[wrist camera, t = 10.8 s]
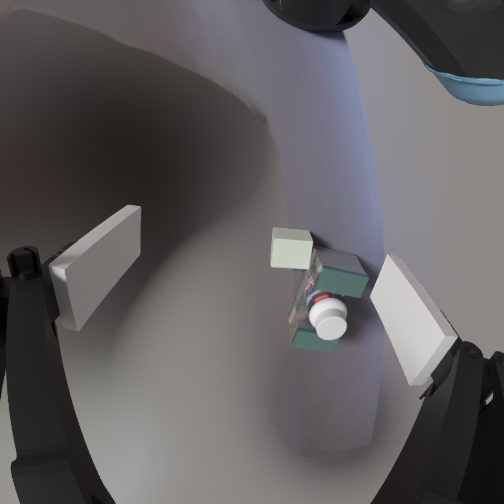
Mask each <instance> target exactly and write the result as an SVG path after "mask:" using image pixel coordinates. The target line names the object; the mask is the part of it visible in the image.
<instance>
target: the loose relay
mask: <svg viewBox="0 0 504 504" xmlns="http://www.w3.org/2000/svg"><path fill="white" fill-rule="evenodd" d="M312 246H313V240H312V237H311V235H310V232H309V230H297V229H287V228H273V234H272V245H271V267H283V268H296V269H309V264H310V258H311V252H312Z"/></svg>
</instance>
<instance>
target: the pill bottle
mask: <svg viewBox="0 0 504 504" xmlns="http://www.w3.org/2000/svg"><path fill="white" fill-rule="evenodd" d="M305 299H306V304H307V310H308V315H309V320H310V322H311V324H312V325H313V326H314V327H315V328H316V332H317V334H318V336H319V337H320V338H322V339H324V340H334V339H337V338H339V337H341V336H342V335H343V334H344V333H345V331H346V329H347V323H346V320H345V319H346V317H347V308H346V305H345V302H344V300H343V297H342V295H341V294H336V293H330V292H325V291H320V290H315V288H314V283H313V280H312V281H311V282H310V283H309V284H308V285H307V287H306V289H305Z"/></svg>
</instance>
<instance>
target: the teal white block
mask: <svg viewBox="0 0 504 504" xmlns="http://www.w3.org/2000/svg"><path fill="white" fill-rule="evenodd" d="M312 280H313V283H314V288H315V290H320V291H325V292H330V293H336V294H341V295H342V297H343V296H344V295H346V296H351V297H357V298H361V296H362V293H363V291H364V289H365V287H366V285H367V282H368V280H369V277H368V275H367V274H366V273H365V271H364V269H363V268H362V266H361V265H360V263H359V259H358V257H357V256H356V255H355V254H350V253H346V252H342V251H338V250H334V249H330V248H326V247H321V246H317V245H313V246H312V252H311V258H310V264H309V269H304V270H303V273H302V276H301V279H300V282H299V285H298V287H297V290H296V293H295V296H294V299H293V302H292V304H291V307H290V310H289V312H288V315H287V320H288V322H289V323H290V331H291V346H292V347H298V348H304V349H312V350H319V351H327V352H333V351H334V349H335V347H336V345H337V343H338V342H339V340H340V338H341V337H339V338H337V339H334V340H324V339H322V338H320V337H319V336H318V334H317V332H316V328H315V327H314V326H313V325H312V324H311V322H310V320H309V315H308V310H307V304H306V299H305V289H306V287H307V285H308V284H309V283H310V282H311V281H312Z"/></svg>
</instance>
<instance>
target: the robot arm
mask: <svg viewBox="0 0 504 504" xmlns="http://www.w3.org/2000/svg"><path fill="white" fill-rule="evenodd" d="M262 1H263V2H264V4H265V5H266V7H267V8H268V9H269V10H270V11H271V12H272V13H273V14H274V15H276V16H277V17H278V18H280V19H281V20H283V21H285V22H287V23H289V24H291V25H293V26H295V27H298V28H301V29H305V30H309V31H314V32H337V31H342V30H346V29H348V28H351V27H353V26H354V25H356V24H357V23H358V22H360V21H361V19H363V18H364V17H365V15H366V14H367V13H368V12H369V10H370V8H372V9H373V10H374V11H376V12H377V13H378V14H379V15H380V16H381V17H382V18H383V19H384V20H385V21H386V22H387V23H388V24H390V25H391V27H393V29H394V30H395V31H396V32H397V33H398V34H399V35H400V36H401V37H402V38H403V39H404V40H405V41H406V42H407V43H408V45H409V46H410V47H411V48H412V49H413V50H414V51H415V52H416V54H417V55H418V56H419V57H420V58H421V60H422V61H423V63H424V65H425V67H426V68H427V69H428V70H429V71H431V72H432V73H434V75H435V76H436V77H437V78H438V79H439V81H440V82H441V83H442V84H443V85H444V87H445V88H446V89H447V91H448V92H449V93H450V94H452V95H453V96H454V97H456V98H457V99H460V100H462V101H465V102H467V103H469V104H474V105H481V106H494V105H503V104H504V0H262ZM140 222H141V207H139V206H132V205H127V206H126V207H124V208H123V209H121V210H120V211H118V212H117V213H115V214H114V215H113V216H111V217H110V218H108V219H107V220H106V221H104V222H103V223H101V224H100V225H99V226H97V227H96V228H95V229H93V230H92V231H91V232H89V233H88V234H87V235H85V236H84V237H83V238H82V239H80V240H76V241H74V242H71V243H69V244H67V245H66V246H65V247H63V248H62V249H61V251H60V250H59V251H58V252H57V253H56V254H55V255H53V256H52V257H51V258H49V259H48V260H47V261H46V262H45V263H43V264H42V265H41V263H40V258H39V253H38V249H37V248H35V247H32V246H23V247H20V248H17V249H15V250H13V251H12V252H11V253H9V255H8V256H7V260H8V265H9V268H10V273H11V277H3V276H2V274H1V270H0V398H1V393H2V386H3V381H4V375H5V371H6V377H7V392H8V403H9V412H10V419H11V425H12V432H13V437H14V443H15V447H16V453H17V458H16V460H14V461H13V462H12V463H11V474H12V478H13V482H14V486H15V489H16V492H17V496H18V499H19V502H20V504H116V503H115V501H114V500H113V498H112V497H111V495H110V493H109V492H108V491H107V489H106V488H105V486H104V484H103V483H102V481H101V479H100V476H99V474H98V472H97V470H96V468H95V465H94V463H93V460H92V458H91V455H90V453H89V450H88V448H87V445H86V443H85V440H84V437H83V434H82V432H81V428H80V426H79V423H78V419H77V417H76V413H75V410H74V406H73V403H72V399H71V396H70V392H69V388H68V384H67V380H66V375H65V371H64V367H63V362H62V357H61V351H60V346H59V340H58V334H57V327H56V324H55V320H56V319H57V317H58V316H59V315H60V317H61V321H62V324H63V327H66V328H69V329H71V330H74V331H76V332H79V330H80V329H81V328H82V326H83V325H84V323H85V322H86V321H87V320H88V318H89V317H90V316H91V314H92V313H93V312H94V310H95V309H96V308H97V306H98V305H99V304H100V303H101V301H102V300H103V299H104V298H105V296H106V295H107V294H108V292H109V291H110V290H111V289H112V288H113V286H114V285H115V284H116V282H117V281H118V280H119V279H120V277H121V276H122V275H123V274H124V273H125V272H126V270H127V269H128V268H129V267H130V265H131V264H132V263H133V262H134V261H135V260H136V259H137V258H138V256H139V255H140ZM370 298H371V300H372V302H373V304H374V306H375V308H376V310H377V312H378V314H379V316H380V319H381V321H382V323H383V325H384V327H385V329H386V332H387V334H388V336H389V338H390V340H391V343H392V345H393V347H394V349H395V352H396V354H397V356H398V359H399V361H400V364H401V366H402V368H403V371H404V373H405V376H406V378H407V380H408V383H409V385H410V386H415V385H423V384H424V383H425V382H426V380H427V379H428V378H429V377H430V375H431V377H432V378H433V383H432V384H431V385H430V386H429V387H428V388H427V390H426V391H425V392H424V393H423V394H422V396H421V397H420V400H421V399H422V398H423V397H425V399H424V401H423V404H422V406H421V409H420V411H419V414H418V416H417V419H416V421H415V423H414V426H413V428H412V430H411V432H410V434H409V437H408V439H407V441H406V443H405V445H404V447H403V449H402V451H401V453H400V455H399V457H398V458H397V460H396V462H395V464H394V466H393V468H392V470H391V471H390V473H389V475H388V477H387V478H386V480H385V482H384V483H383V485H382V486H381V488H380V490H379V491H378V493H377V494H376V496H375V498H374V499H373V501H372V502H371V504H504V353H502V352H499V351H496V352H495V353H494V354H493V355H492V357H491V358H490V359H486V358H483V354H482V352H481V350H480V349H479V348H478V347H477V346H476V345H474V344H473V343H470V342H467V341H464V342H462V340H461V338H460V337H459V335H458V334H457V332H456V331H455V329H454V328H453V327H452V325H450V322H449V321H448V320H447V318H446V316H445V315H444V313H443V312H442V311H441V310H440V309H439V308H438V307H437V305H436V304H435V303H434V301H433V300H432V299H431V297H430V296H429V294H428V293H427V292H426V291H425V289H424V288H423V286H422V285H421V284H420V283H419V281H418V280H417V279H416V277H415V276H414V275H413V274H412V272H411V271H410V270H409V269H408V267H407V266H406V265H405V264H404V262H403V261H402V260H401V259H400V258H399V257H398V256H394V255H389V254H388V255H387V257H386V259H385V262H384V264H383V267H382V269H381V272H380V274H379V277H378V279H377V281H376V284H375V286H374V288H373V291H372V293H371V295H370ZM492 393H493V399H492V400H491V401H490V402H489V404H487V405H486V400H487V399H488V398H489V397H490V396H491V394H492Z"/></svg>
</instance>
